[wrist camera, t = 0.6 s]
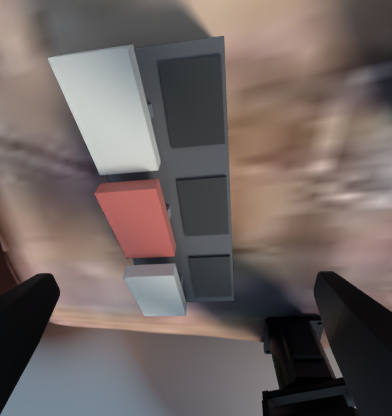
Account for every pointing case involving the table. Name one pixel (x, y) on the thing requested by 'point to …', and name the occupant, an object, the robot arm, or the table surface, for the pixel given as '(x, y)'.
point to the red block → (138, 217)
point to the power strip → (191, 161)
